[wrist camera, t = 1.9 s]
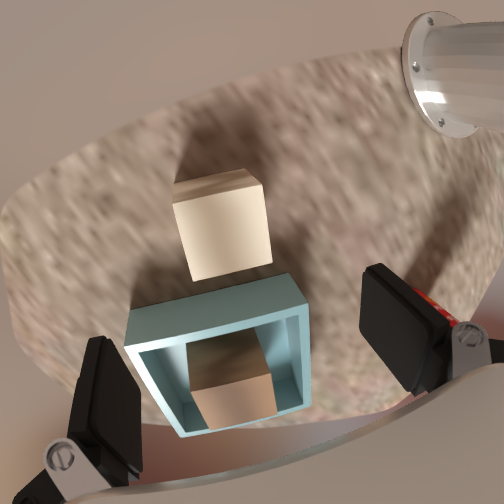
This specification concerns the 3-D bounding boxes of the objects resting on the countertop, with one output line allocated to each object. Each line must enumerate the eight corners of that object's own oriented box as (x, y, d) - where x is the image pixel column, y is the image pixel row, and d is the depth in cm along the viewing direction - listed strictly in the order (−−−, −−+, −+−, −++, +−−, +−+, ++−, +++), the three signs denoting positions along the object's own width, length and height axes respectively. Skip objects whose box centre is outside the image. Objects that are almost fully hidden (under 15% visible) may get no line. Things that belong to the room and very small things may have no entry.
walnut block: (252, 323, 26) (270, 373, 21) (261, 367, 29) (277, 414, 24) (185, 339, 26) (190, 392, 20) (202, 381, 28) (210, 430, 23)
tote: (288, 272, 26) (308, 302, 22) (297, 375, 32) (311, 405, 28) (129, 309, 24) (123, 346, 20) (177, 404, 30) (180, 437, 26)
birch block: (244, 168, 21) (262, 184, 17) (254, 232, 24) (272, 262, 19) (173, 183, 21) (172, 203, 16) (189, 247, 23) (193, 281, 18)
